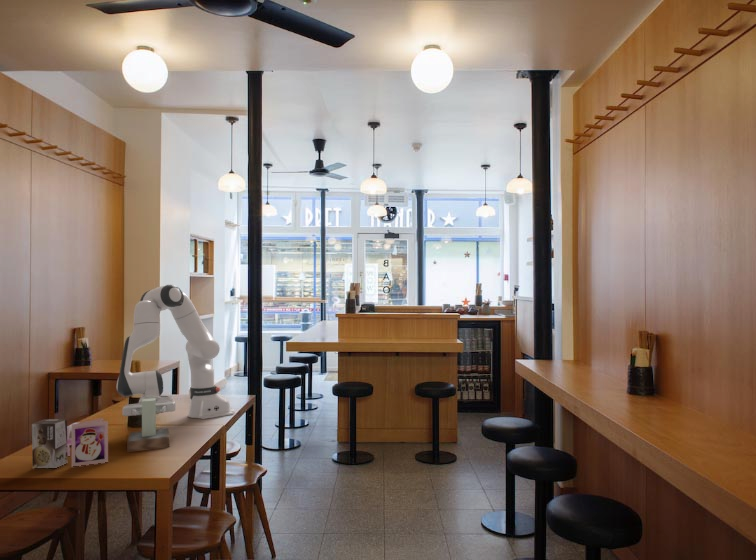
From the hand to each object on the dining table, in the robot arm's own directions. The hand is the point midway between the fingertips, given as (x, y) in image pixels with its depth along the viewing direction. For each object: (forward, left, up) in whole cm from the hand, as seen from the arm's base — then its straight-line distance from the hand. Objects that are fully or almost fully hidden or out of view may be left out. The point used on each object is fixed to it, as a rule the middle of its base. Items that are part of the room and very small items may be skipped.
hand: (149, 412), depth 207 cm
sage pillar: (0, 0, -9) cm, 9 cm away
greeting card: (+19, +15, -13) cm, 28 cm away
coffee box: (+32, +13, -13) cm, 37 cm away
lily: (+32, 0, -13) cm, 34 cm away
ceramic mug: (+28, -16, -13) cm, 35 cm away
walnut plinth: (0, 0, -13) cm, 13 cm away
